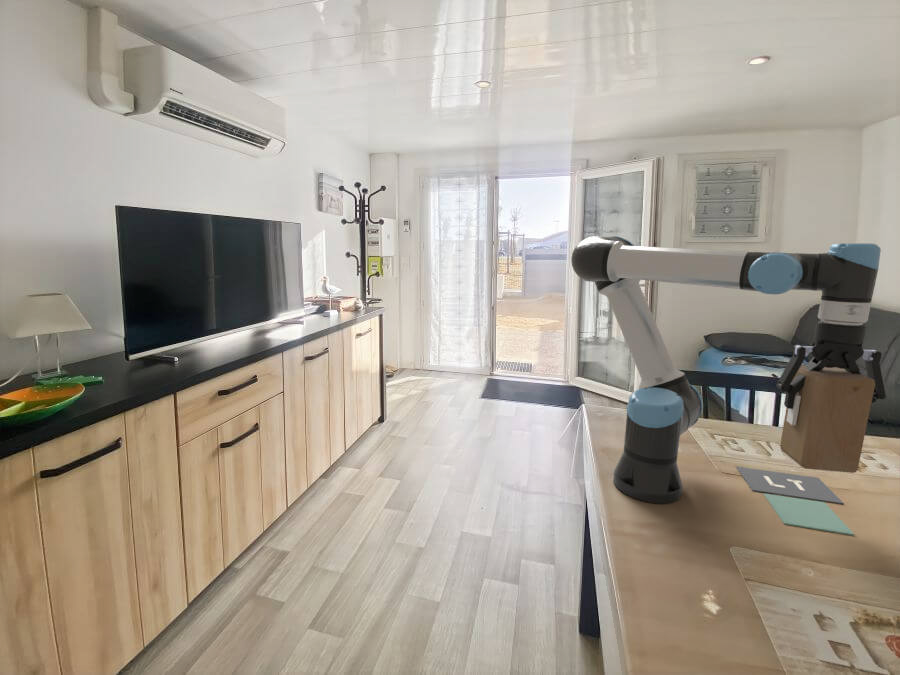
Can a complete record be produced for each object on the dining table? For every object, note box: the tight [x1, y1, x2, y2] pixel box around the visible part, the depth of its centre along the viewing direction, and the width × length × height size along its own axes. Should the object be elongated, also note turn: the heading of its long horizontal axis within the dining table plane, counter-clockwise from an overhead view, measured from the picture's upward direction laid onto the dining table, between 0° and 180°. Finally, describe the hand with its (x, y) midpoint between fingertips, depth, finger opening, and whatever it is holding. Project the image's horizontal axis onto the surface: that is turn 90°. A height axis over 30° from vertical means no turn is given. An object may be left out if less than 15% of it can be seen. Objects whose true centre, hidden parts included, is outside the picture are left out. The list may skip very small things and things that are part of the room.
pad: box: [762, 492, 855, 536], centre depth 96 cm, size 12×12×1 cm
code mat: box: [736, 466, 845, 505], centre depth 108 cm, size 18×12×1 cm, turn 72°
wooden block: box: [779, 364, 875, 474], centre depth 91 cm, size 10×10×20 cm
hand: (822, 426), depth 92 cm, fingers closed on wooden block, 10 cm apart
